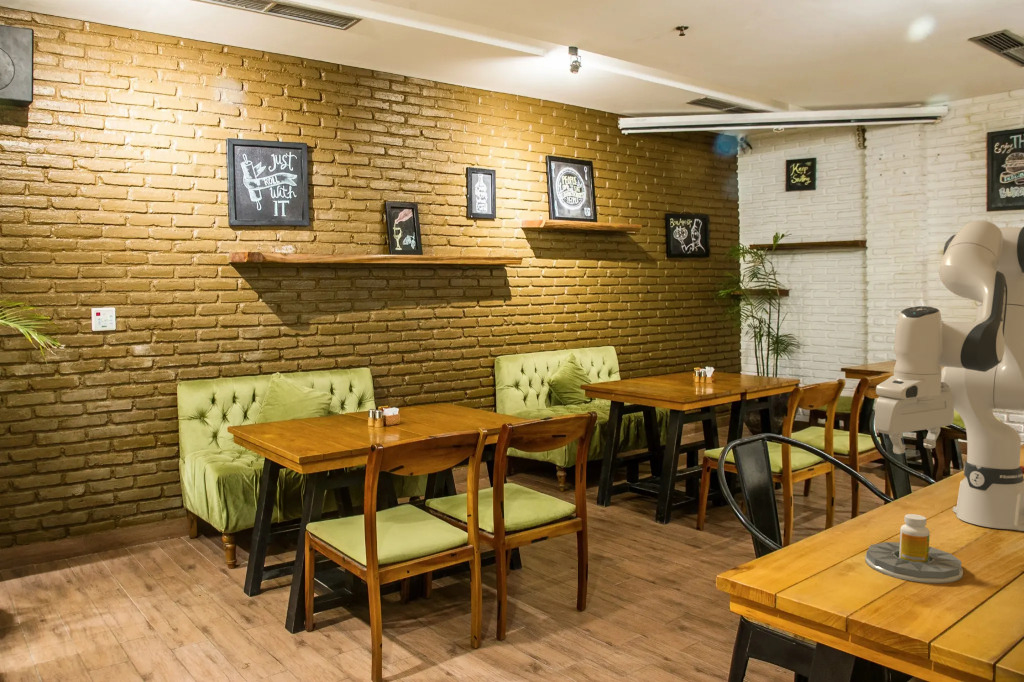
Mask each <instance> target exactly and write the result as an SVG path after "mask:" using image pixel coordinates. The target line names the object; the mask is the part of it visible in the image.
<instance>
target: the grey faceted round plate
mask: <svg viewBox="0 0 1024 682" xmlns="http://www.w3.org/2000/svg"><path fill="white" fill-rule="evenodd" d="M899 549H900V541H899V542H897V541H896V542H894V541H884V542H880V543H879V542H878V543H874V544H870V545H869V546H868V549H866V553H865V556H864V561H865V563H866V564H867V566H869V568H871V569H873V570H875V571H876V572H879V573H881V574H882V575H886V576H889V577H892V578H896V579H900V580H904V581H910V582H913V583H915V582H916V583H923V584H948V583H954V582H957V581H959V580H961V579H962V578H963V577H964V575H963V574H964V570H963V567H962V561H961V560H960V559H959V558H957V557H956V556H954V555H953V554H952V553H950V552H947V551H944V550H943V549H939V548H935V547H932V546H929V558H928V562H913V561H907V560H904V559H901V558H899Z"/></svg>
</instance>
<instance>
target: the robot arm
mask: <svg viewBox="0 0 1024 682" xmlns="http://www.w3.org/2000/svg"><path fill="white" fill-rule="evenodd" d="M938 275H939V278H940V280H941V282H942V284H943V286H944V287H945V288H946V289H947V290H949V291H950V292H951V293H953V294H954V295H956V296H958V297H961V298H964V299H969V300H973V301H976V302H977V306H976V315H975V316H976V317H975V318H976V320H975V321H970V322H969V321H968V322H967V321H965V322H964V321H963V322H962V321H945V320H942V315H941V311H940V310H939V309H938V308H936V307H933V306H925V305H923V306H922V305H921V306H918V305H917V306H911V307H907V308H905V309H903V310H901V311H900V312H899V315H898V318H897V323H896V327H895V328H896V329H895V337H894V353H895V358H896V359H895V360H896V361H895V364H894V367H893V375H891V376H890V377H888V378H886V379H885V380H883V381H882V382H881V383H879V384H877V385H876V388H875V394H876V395H878V398H877V400H876V402H875V408H874V426H875V429H876V431H877V432H878V433H881V434H885V435H888V436H889V439H890V442H891V443H892V451H893V453H894V454H897V455H901V454H902V455H903V454H905V453H906V445H905V444H903V441H902V439H903V437H904V435H903V434H905V433H911V432H917V431H925V430H927V431H928V432H927V435H926V438H924V439H923V444H922V445H923V447H924V448H925V449H935V448H936V446H937V445H936V444H937V443H936V441H937V439H938V438H939V435H940V433H941V428H942V427H947V426H948V427H949V426H952V424H953V422H954V419H955V411H956V412H957V414H958V415H959V416H960V418H961V420H962V422H963V423H964V428H965V431H966V444H967V445H966V447H967V448H966V449H967V452H966V453H967V454H966V460H965V462H964V466H963V475H964V476H965V477H964V478H963V479H962V480H960V483H959V487H958V488H959V489H958V496H957V503H956V505H955V506H953V507H952V512H954V513H955V515H956V518H958V519H960V520H961V521H963V522H966V523H968V524H973V525H975V526H976V525H977V526H981V527H986V528H992V529H1001V530H1013V531H1020V532H1024V465H1020V463H1021V449H1022V448H1021V446H1022V445H1021V444H1022V439H1021V435H1020V434H1019V432H1018V431H1017V430H1016V429H1015V428H1013V427H1012V426H1010V425H1009V424H1006V423H1004V422H1002V421H1001V420H999V419H998V418H997V417H996V416H995V415H994V412H993V410H994V409H995V410H996V409H999V410H1009V411H1010V410H1011V411H1019V412H1020V411H1021V412H1024V226H1023V227H1019V226H1017V227H1016V226H1014V227H1012V226H1011V227H1010V226H1009V227H1006V226H1005V227H998V225H997V224H995V223H992V222H990V221H986V220H974V221H971V222H970V221H969V222H967V223H966V224H964V225H963V226H962V227H961V228H960V229H959V230H958V231H957V232H956V234H953V235H952V236H950V237H949V238H948V239H947V240H946V241H945V244H944V247H943V256H942V258H941V261H940V264H939V269H938Z"/></svg>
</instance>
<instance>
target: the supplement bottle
mask: <svg viewBox="0 0 1024 682" xmlns="http://www.w3.org/2000/svg"><path fill="white" fill-rule="evenodd" d="M904 523H905V524H902V525H901V526H900V531H899V532H900V533H899V542H900V549H899V558H901V559H904V560H907V561H913V562H928V558H929V547H930V529H928V527H926V526H927V517H925V516H923V515H920V514H913V513H908V514H905V515H904Z"/></svg>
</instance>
